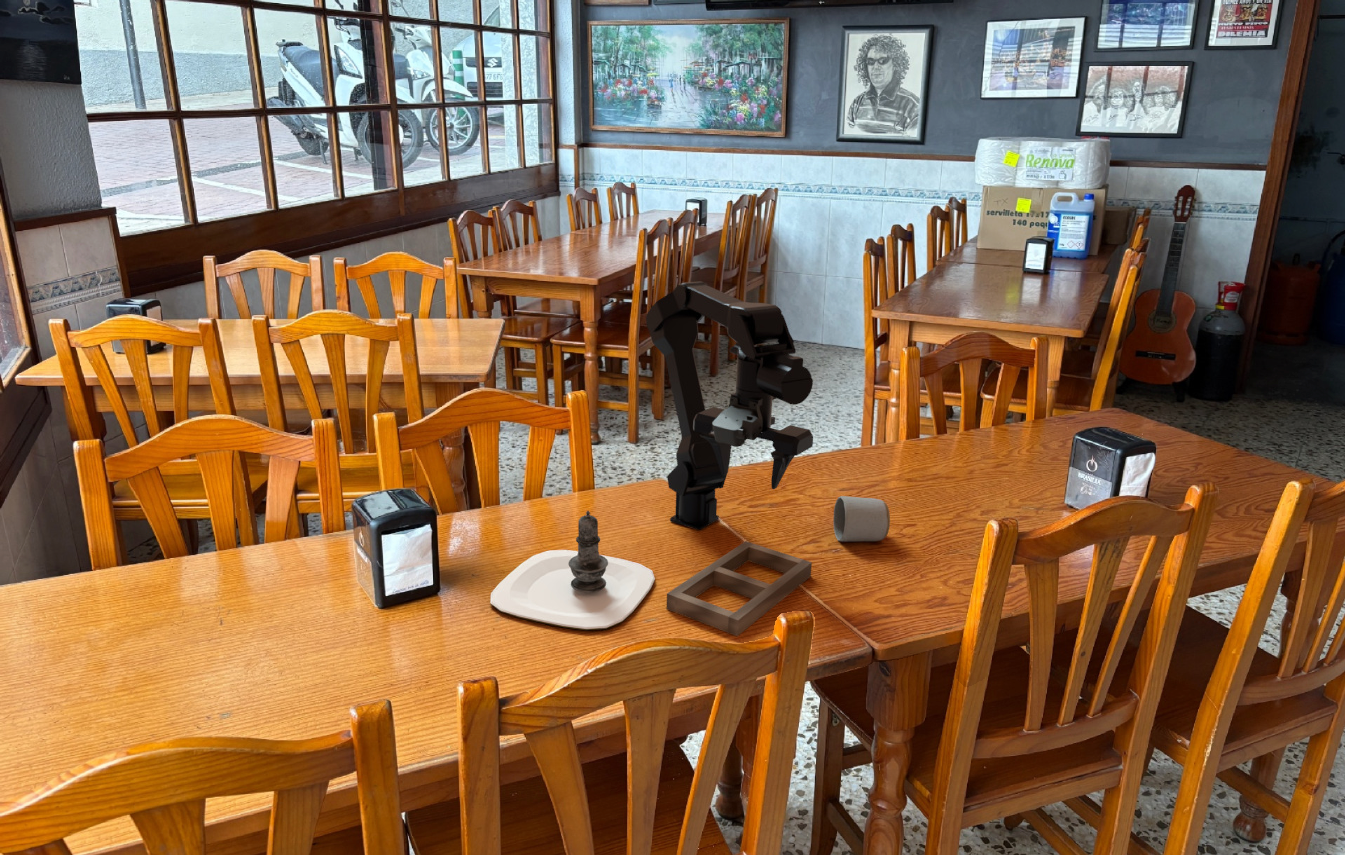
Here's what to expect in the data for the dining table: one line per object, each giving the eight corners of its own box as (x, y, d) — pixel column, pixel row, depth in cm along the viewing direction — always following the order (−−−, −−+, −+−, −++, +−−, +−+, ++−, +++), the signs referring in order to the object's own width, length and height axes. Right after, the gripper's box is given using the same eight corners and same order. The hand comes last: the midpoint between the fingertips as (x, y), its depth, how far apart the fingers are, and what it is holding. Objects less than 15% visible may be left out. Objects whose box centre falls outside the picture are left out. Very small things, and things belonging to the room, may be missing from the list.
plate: (666, 576, 144) (667, 566, 144) (613, 646, 125) (613, 635, 124) (542, 552, 151) (542, 543, 150) (473, 615, 131) (472, 605, 131)
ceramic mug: (889, 548, 154) (894, 505, 152) (842, 549, 153) (846, 506, 151) (870, 522, 164) (874, 482, 162) (826, 523, 163) (829, 483, 161)
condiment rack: (666, 608, 133) (666, 593, 132) (744, 554, 150) (745, 541, 149) (737, 636, 127) (737, 620, 126) (810, 576, 144) (811, 562, 143)
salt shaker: (587, 571, 141) (586, 499, 138) (616, 582, 138) (616, 509, 134) (560, 585, 137) (559, 511, 133) (589, 597, 134) (589, 522, 130)
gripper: (674, 386, 140) (671, 482, 145) (782, 411, 130) (775, 512, 135) (714, 372, 148) (710, 462, 153) (818, 394, 138) (810, 490, 143)
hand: (748, 481), depth 146 cm, fingers open, 9 cm apart
